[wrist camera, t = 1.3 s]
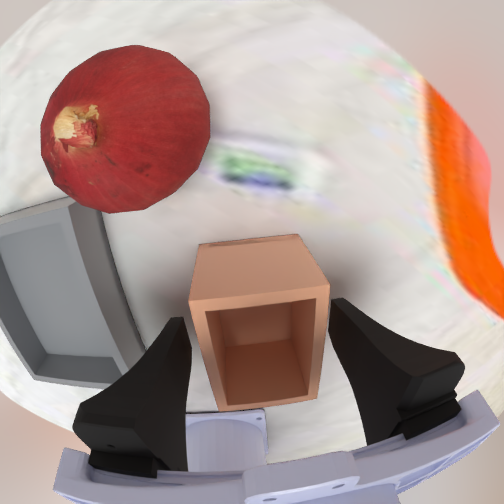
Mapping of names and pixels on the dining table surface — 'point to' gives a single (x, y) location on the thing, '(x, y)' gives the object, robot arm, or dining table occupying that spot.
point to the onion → (125, 129)
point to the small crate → (260, 320)
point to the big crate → (64, 296)
